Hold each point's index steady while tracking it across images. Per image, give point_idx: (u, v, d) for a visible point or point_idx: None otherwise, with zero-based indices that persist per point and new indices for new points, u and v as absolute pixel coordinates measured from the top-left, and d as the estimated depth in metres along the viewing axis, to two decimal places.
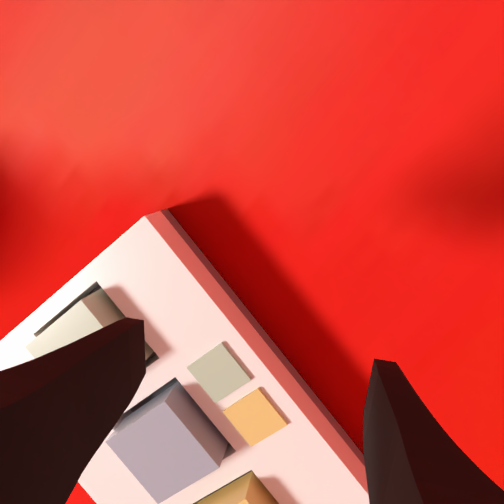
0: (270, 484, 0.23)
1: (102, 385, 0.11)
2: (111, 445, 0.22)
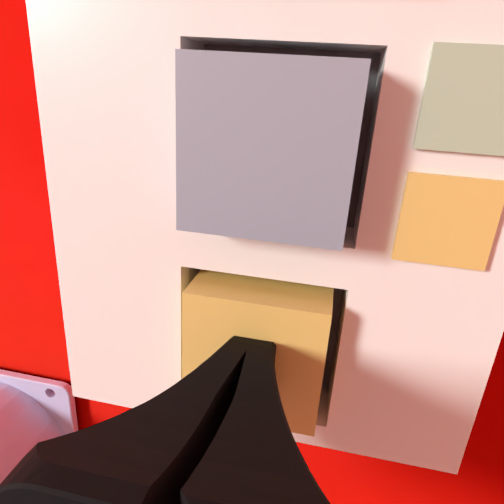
0: (353, 328, 0.13)
1: None
2: (182, 65, 0.10)
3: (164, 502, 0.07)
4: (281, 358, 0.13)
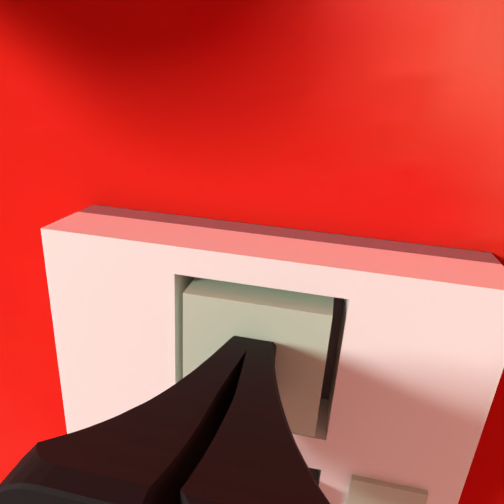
0: None
1: None
2: None
3: (164, 502, 0.07)
4: None
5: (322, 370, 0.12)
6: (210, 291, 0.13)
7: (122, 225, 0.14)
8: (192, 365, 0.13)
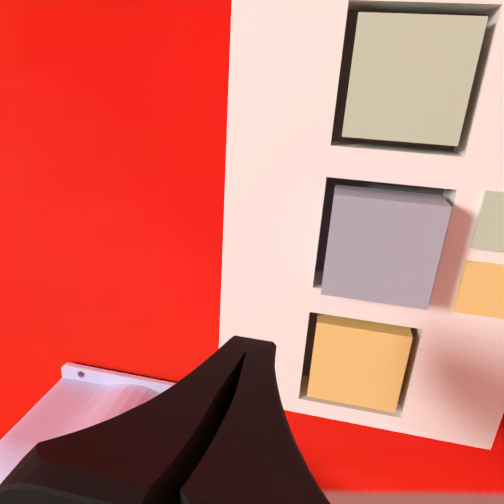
0: (425, 353, 0.20)
1: None
2: (337, 203, 0.17)
3: (164, 502, 0.07)
4: (377, 363, 0.20)
5: (473, 74, 0.15)
6: None
7: None
8: (357, 86, 0.16)
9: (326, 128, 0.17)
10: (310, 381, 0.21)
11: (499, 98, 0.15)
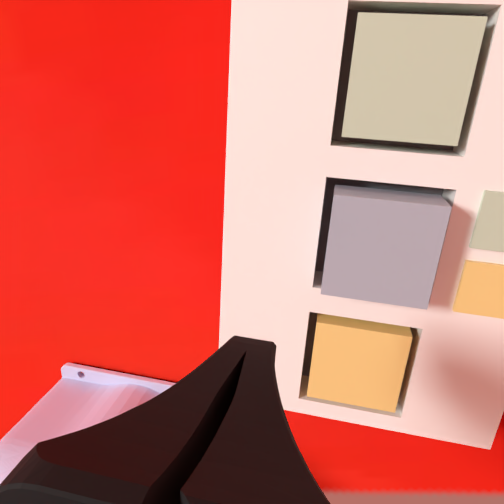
0: (424, 353, 0.20)
1: None
2: (337, 203, 0.17)
3: (164, 502, 0.07)
4: (377, 363, 0.20)
5: (472, 74, 0.15)
6: None
7: None
8: (356, 86, 0.16)
9: (326, 128, 0.17)
10: (310, 381, 0.21)
11: (498, 98, 0.15)
